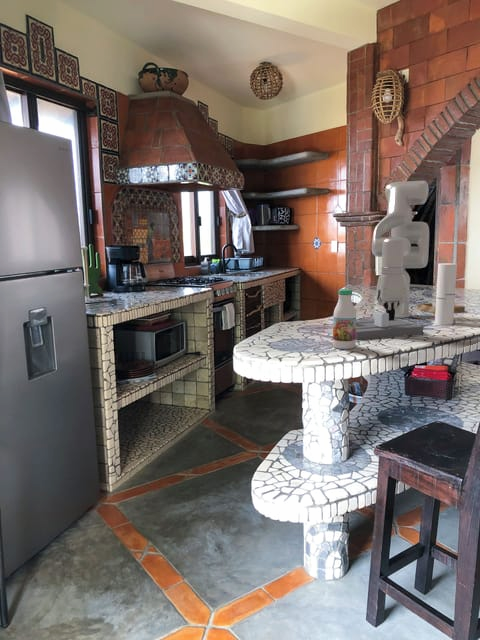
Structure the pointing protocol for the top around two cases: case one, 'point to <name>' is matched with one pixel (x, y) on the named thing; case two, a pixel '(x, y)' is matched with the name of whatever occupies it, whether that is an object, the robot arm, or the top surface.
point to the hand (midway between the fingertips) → (390, 319)
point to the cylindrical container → (445, 293)
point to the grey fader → (381, 319)
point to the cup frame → (432, 309)
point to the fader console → (386, 329)
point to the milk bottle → (344, 321)
